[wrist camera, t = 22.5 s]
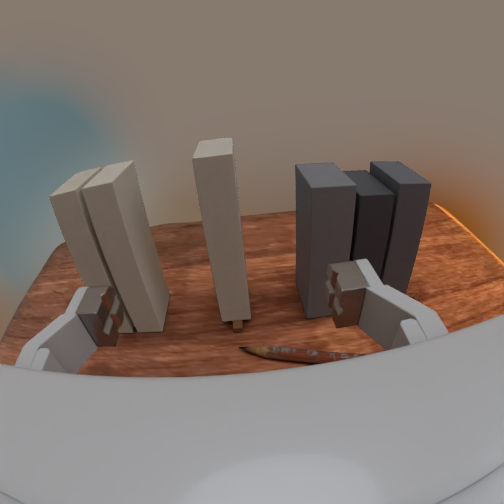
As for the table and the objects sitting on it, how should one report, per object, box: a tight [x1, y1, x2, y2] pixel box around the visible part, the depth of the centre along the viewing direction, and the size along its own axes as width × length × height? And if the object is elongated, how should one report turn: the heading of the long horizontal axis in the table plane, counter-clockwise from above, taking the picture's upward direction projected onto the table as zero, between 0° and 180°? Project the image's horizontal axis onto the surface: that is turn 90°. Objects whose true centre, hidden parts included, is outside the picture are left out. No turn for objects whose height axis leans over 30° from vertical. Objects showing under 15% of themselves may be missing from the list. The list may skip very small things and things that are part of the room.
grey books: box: [295, 161, 431, 319], centre depth 24 cm, size 5×10×12 cm, turn 94°
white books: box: [49, 160, 243, 333], centre depth 23 cm, size 6×13×14 cm, turn 94°
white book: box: [192, 137, 251, 322], centre depth 23 cm, size 5×2×14 cm, turn 4°
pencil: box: [239, 346, 369, 364], centre depth 20 cm, size 19×1×1 cm, turn 76°
